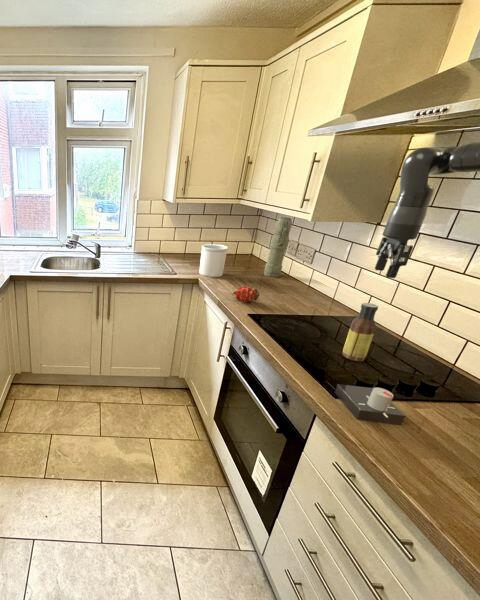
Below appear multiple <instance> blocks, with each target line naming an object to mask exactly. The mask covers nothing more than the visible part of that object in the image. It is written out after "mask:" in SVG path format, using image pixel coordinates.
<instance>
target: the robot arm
mask: <svg viewBox="0 0 480 600" xmlns="http://www.w3.org/2000/svg"><path fill="white" fill-rule="evenodd" d="M474 172H475V173H476V172H480V140H479V141H472V142H469V143H468V142H467V143H464V144H461V145H458V146H457V145H456V146H448V147H431V146H430V147H429V146H428V147H419V148H416V149H414V150H413V151H412V152H410V153H409V154H408V155H407V156H406V158H405V159H404V161H403V163H402V165H401V171H400V181H399V182H400V183H399V187H400V188H399V190H400V191H399V193H398V195H397V197H396V200H395V203H394V206H393V208H392V209H391V210H390V211H391V212H390V214H389V216H388V218H387V221H386V224H385V226H384V230H383V231H382V236H383V237H382V238H381V239H380V243H379V245H378V247H377V250H376V252H375V255H376V256H377V261H376V264H375V266H374V270H375V271H381V272H383V271H384V270H385V269H386V265H387V264H388V260H389V261H390V262H389V263H390V264H389V266H388V268H387V271H386V274H385V277H386V278H390V279H396V277H397V275H398V273H399V270H400V269H401V267H406V266H407V264H408V261H409V259H410V256H411V253H412V251H413V248H414V246H413V245H410V244H408V241H411V240H416V239H417V238H418V235H419V233H420V231H421V229H422V225H423V223H424V220H425V218H426V216H427V213H428V208H429V206H430V204H431V201H432V198H433V196H434V193H435V187H434V186H433V185H432V184H429V177H430V176H438V175H447V174H453V173H454V174H455V173H474Z"/></svg>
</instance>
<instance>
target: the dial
mask: <svg viewBox="0 0 480 600" xmlns="http://www.w3.org/2000/svg"><path fill="white" fill-rule="evenodd" d="M372 388H373V390H372V392H371V394H370V396H369V399H368V401H367V404H368V405H369V406H370V407H371V408H373V409H375V410H378V411H383V412H384V411H387V409H388V407H389V405H390V403H391V402H392V400H393V399H394V394H393V393H392V392H391V391H389V390H387V389H385V388H382V387H378V386H377V387H372Z"/></svg>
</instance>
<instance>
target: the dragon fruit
mask: <svg viewBox="0 0 480 600" xmlns="http://www.w3.org/2000/svg"><path fill="white" fill-rule="evenodd" d="M232 295H234V299H236V300H238V301H240V302H242V301H243V303H244V304H245V303H251V302H252V301H256V302H257V300H258V299H259V297H260V292H259V291H258V289H256V288H254V287H253V286H252V285H250V286H247V285H244V286H241V287H238V289H236V290H235V291H233V293H232Z"/></svg>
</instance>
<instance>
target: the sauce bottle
mask: <svg viewBox="0 0 480 600" xmlns="http://www.w3.org/2000/svg"><path fill="white" fill-rule="evenodd" d="M378 309H379V306H378V305H377V304H375V303H371V302H362V303H361V306H360V310H359V314H358V315H357V316H356V317H354V318H353V319H352V321H351V324H350V327H349V330H348V332H347V336H346V339H345V343H344V346H343V348H342V356H343V357H344V358H346V359H348V360H350V361H353V362H359V363H360V362H364V361H365V360H366V357H367V355H368V352H369V349H370V346H371V343H372V342H373V341H372V340H373V338H374V335H375V331H376V327H377V326H376V323H375V316H376V312H377V311H378Z"/></svg>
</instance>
